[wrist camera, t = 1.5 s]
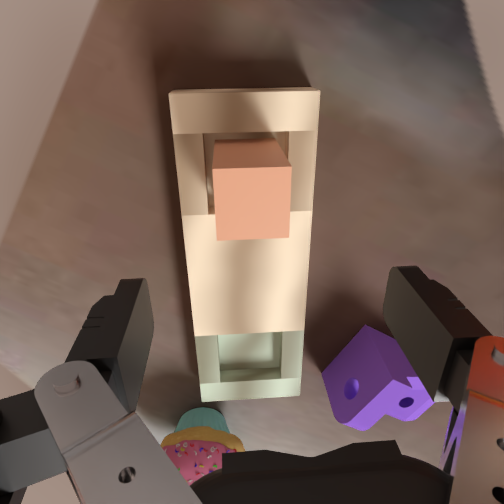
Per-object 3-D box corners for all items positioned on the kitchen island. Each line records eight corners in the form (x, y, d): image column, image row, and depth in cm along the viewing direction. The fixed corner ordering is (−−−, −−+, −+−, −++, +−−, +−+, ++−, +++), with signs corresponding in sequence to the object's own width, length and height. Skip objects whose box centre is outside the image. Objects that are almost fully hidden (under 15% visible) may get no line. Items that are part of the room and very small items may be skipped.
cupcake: (203, 457, 42) (197, 594, 32) (142, 424, 39) (113, 563, 28) (259, 418, 40) (273, 551, 29) (200, 379, 37) (191, 513, 26)
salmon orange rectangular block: (274, 137, 25) (291, 166, 19) (274, 195, 27) (289, 237, 21) (214, 139, 25) (212, 168, 19) (218, 197, 27) (216, 240, 21)
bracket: (320, 370, 38) (339, 432, 32) (364, 322, 35) (393, 379, 29) (408, 407, 41) (440, 469, 35) (454, 366, 39) (496, 425, 33)
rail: (311, 87, 25) (320, 90, 23) (295, 375, 37) (299, 395, 35) (173, 89, 24) (168, 93, 22) (203, 380, 37) (201, 401, 34)
